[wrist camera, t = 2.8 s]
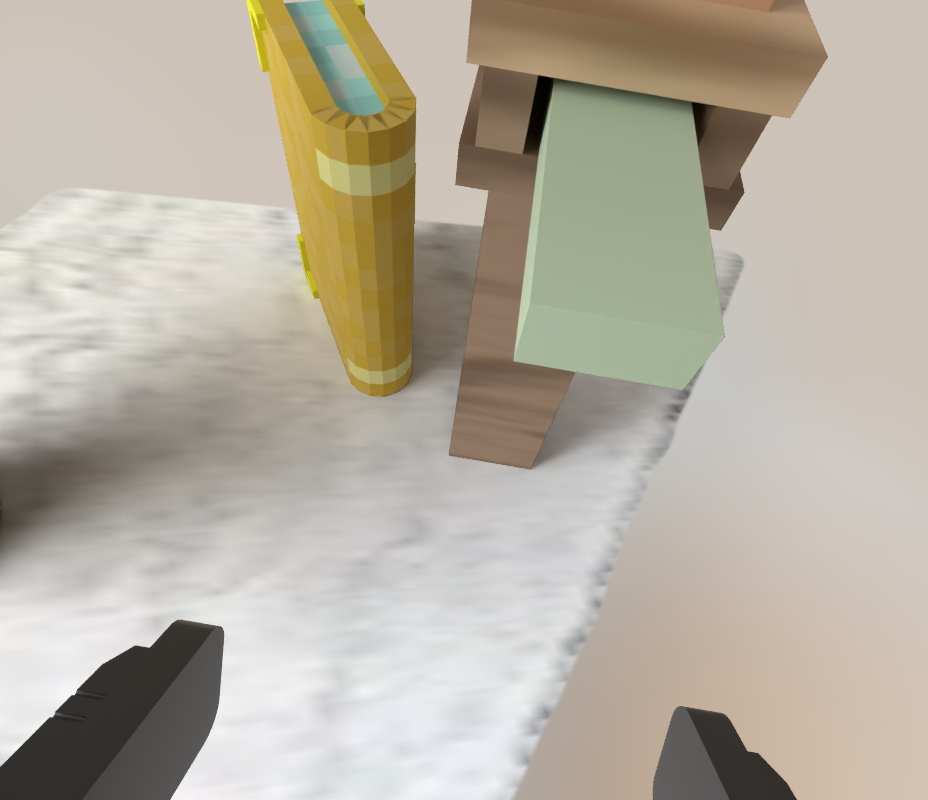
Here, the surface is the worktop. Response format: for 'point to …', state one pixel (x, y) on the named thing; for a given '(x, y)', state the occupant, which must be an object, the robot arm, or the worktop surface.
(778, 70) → the tall brown wooden column
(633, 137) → the block
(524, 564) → the worktop surface
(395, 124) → the book
